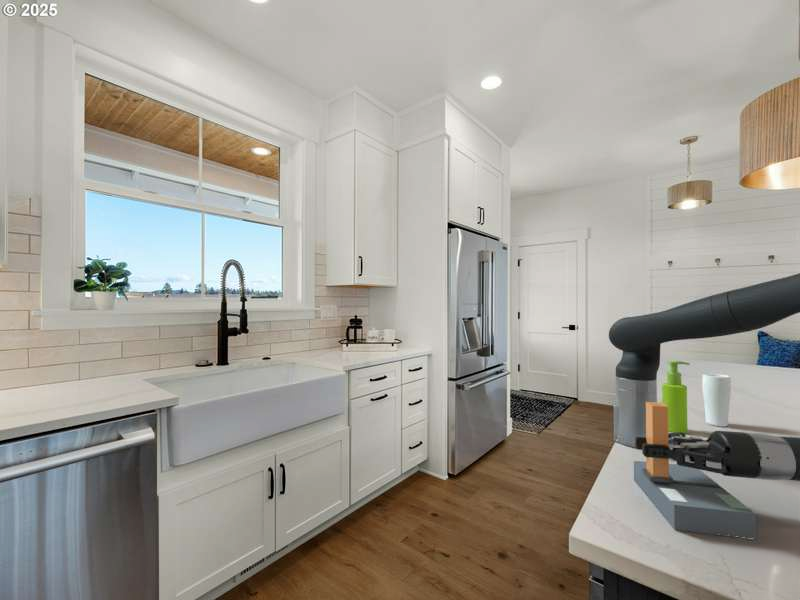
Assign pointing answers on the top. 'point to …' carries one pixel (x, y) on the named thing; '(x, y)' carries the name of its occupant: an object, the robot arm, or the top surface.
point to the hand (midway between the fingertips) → (639, 446)
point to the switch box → (696, 503)
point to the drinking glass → (716, 398)
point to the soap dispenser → (675, 399)
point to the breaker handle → (657, 441)
